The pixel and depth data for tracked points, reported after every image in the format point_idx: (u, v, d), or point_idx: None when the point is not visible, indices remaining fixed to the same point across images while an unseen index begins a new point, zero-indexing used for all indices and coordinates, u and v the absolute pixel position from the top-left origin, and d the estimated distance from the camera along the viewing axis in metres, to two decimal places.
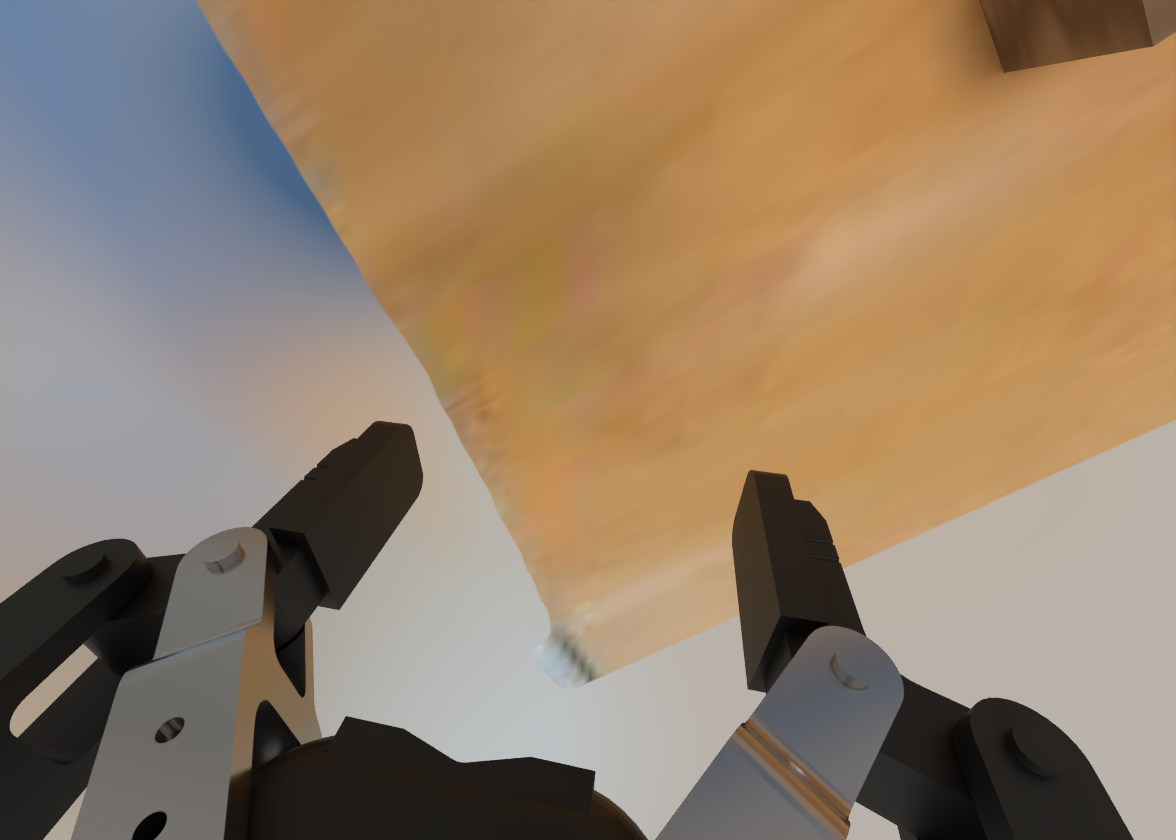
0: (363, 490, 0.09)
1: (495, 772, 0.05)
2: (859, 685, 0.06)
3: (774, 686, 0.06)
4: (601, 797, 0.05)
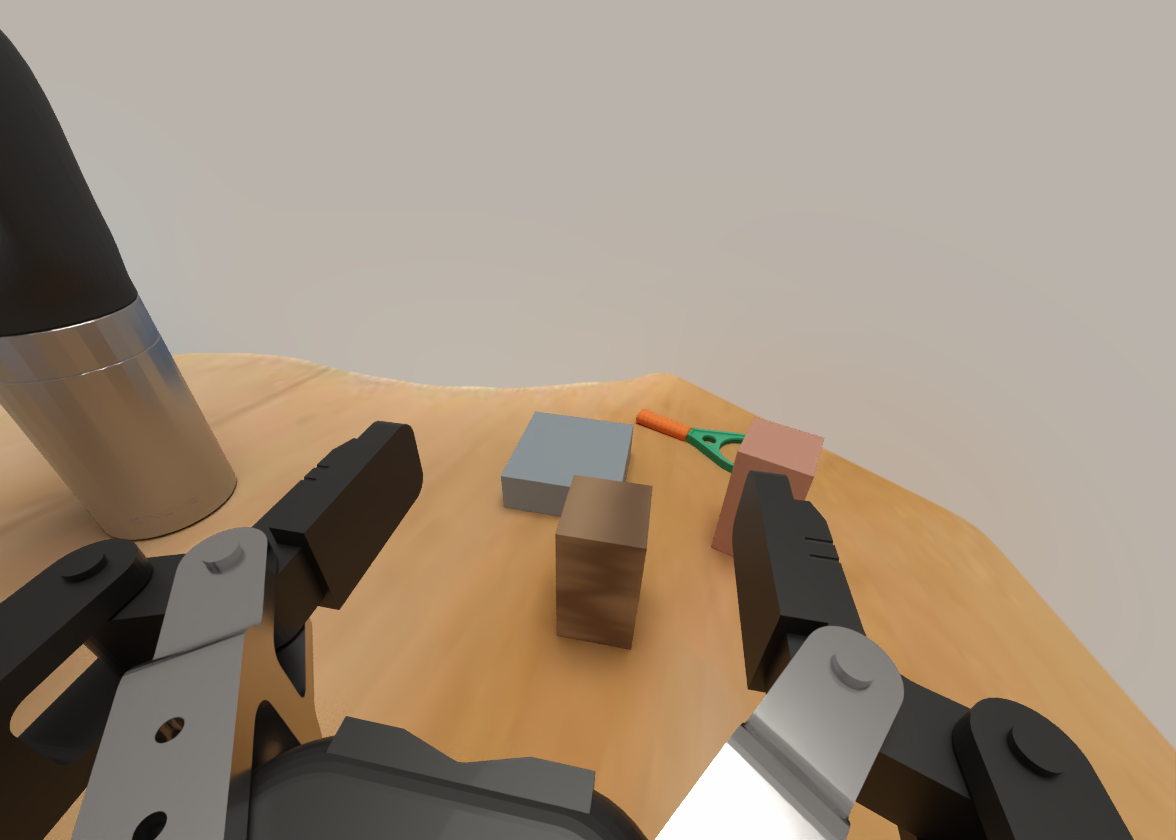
0: (363, 490, 0.09)
1: (495, 774, 0.05)
2: (859, 685, 0.06)
3: (774, 686, 0.06)
4: (601, 797, 0.05)
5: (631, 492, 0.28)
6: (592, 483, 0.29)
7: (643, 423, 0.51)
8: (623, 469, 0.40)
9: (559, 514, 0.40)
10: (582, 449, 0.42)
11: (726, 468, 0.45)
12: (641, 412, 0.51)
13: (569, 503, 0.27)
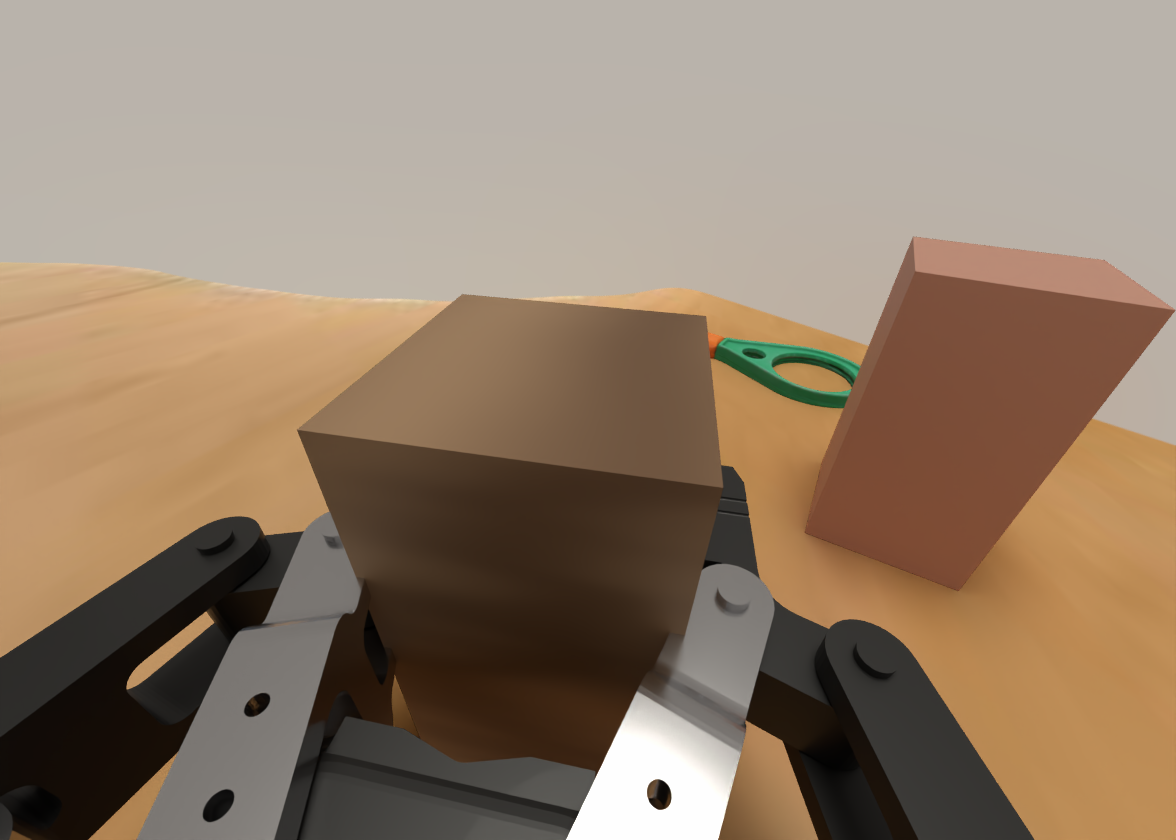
0: None
1: (495, 772, 0.05)
2: (734, 609, 0.07)
3: None
4: None
5: (639, 327, 0.08)
6: (516, 309, 0.09)
7: None
8: None
9: None
10: None
11: (786, 393, 0.26)
12: None
13: (414, 345, 0.07)
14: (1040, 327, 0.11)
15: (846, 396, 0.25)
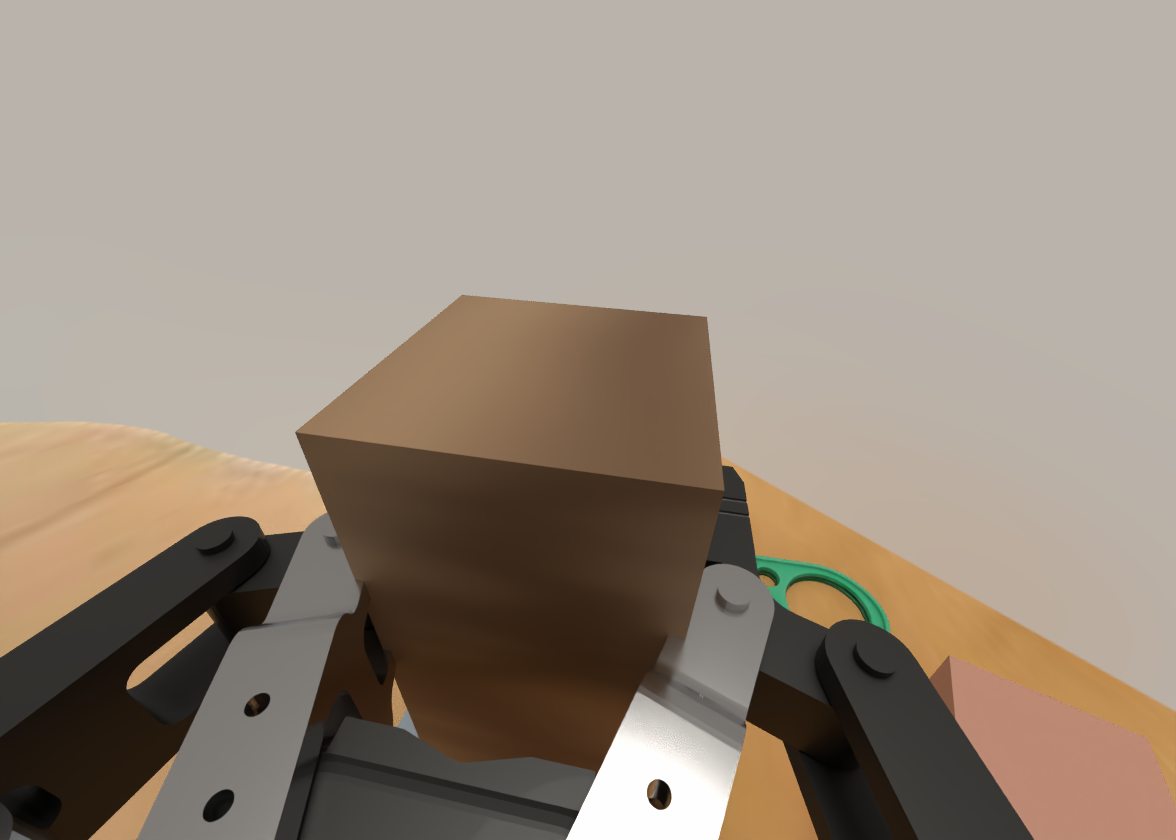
0: None
1: (495, 773, 0.05)
2: (734, 609, 0.07)
3: None
4: None
5: (640, 328, 0.08)
6: (515, 310, 0.09)
7: None
8: None
9: None
10: None
11: None
12: None
13: (414, 347, 0.07)
14: None
15: None
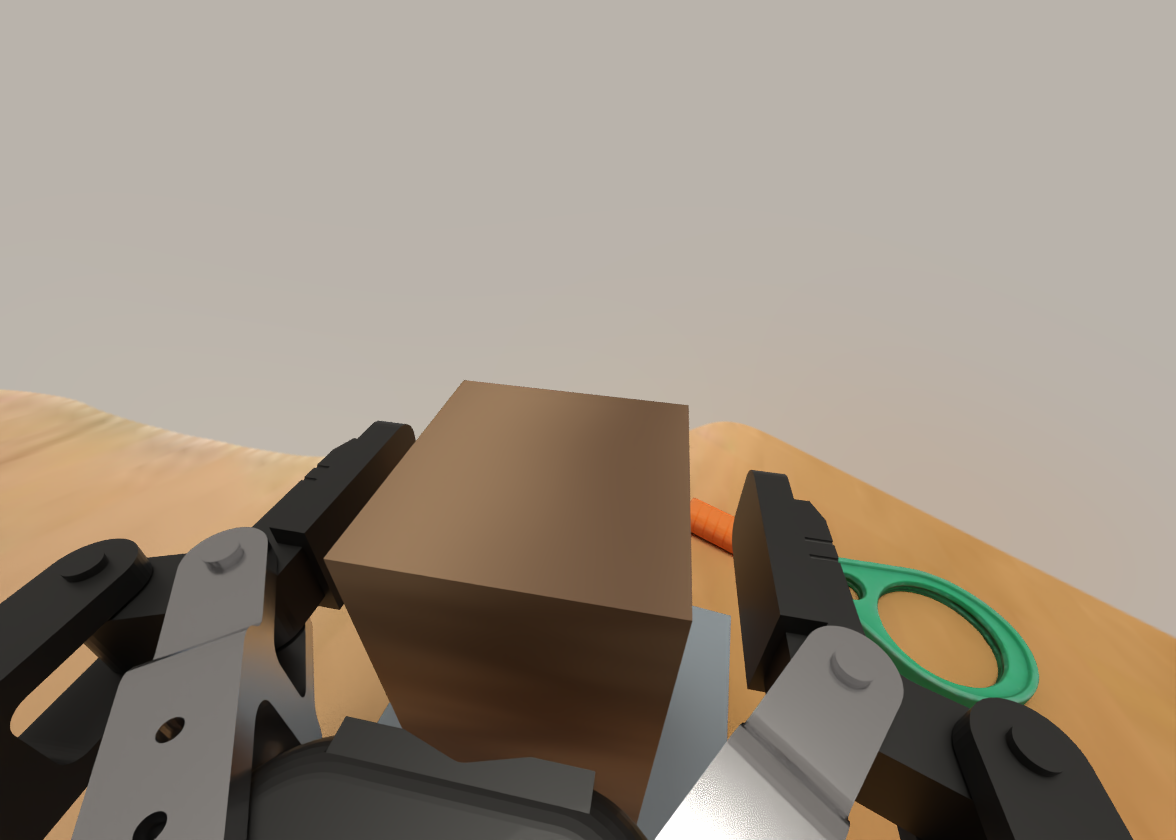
0: (363, 490, 0.09)
1: (495, 772, 0.05)
2: (859, 685, 0.06)
3: (773, 686, 0.06)
4: (601, 797, 0.05)
5: (626, 421, 0.09)
6: (513, 399, 0.10)
7: (695, 531, 0.24)
8: None
9: None
10: None
11: None
12: (691, 507, 0.25)
13: (422, 451, 0.08)
14: None
15: None
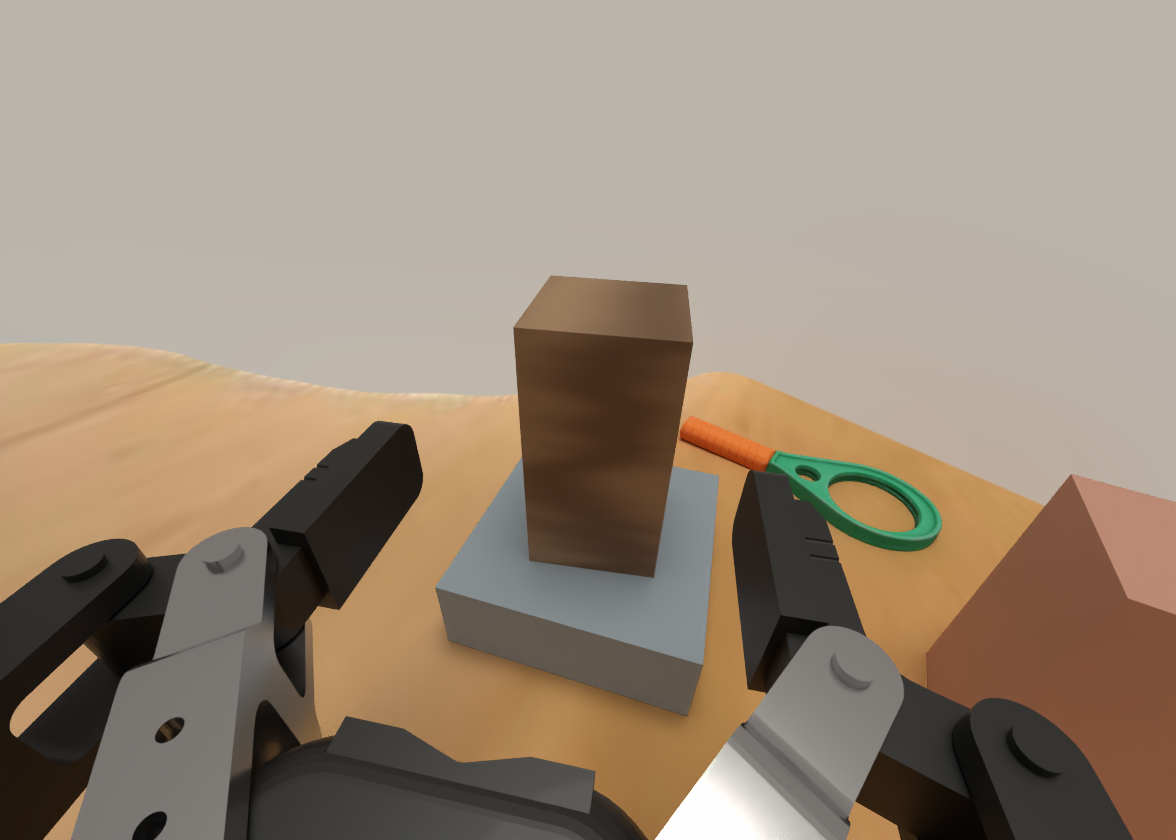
0: (363, 490, 0.09)
1: (495, 773, 0.05)
2: (859, 685, 0.06)
3: (774, 686, 0.06)
4: (601, 797, 0.05)
5: (652, 290, 0.16)
6: (584, 282, 0.16)
7: (691, 440, 0.31)
8: (707, 586, 0.18)
9: (560, 673, 0.18)
10: None
11: (846, 530, 0.25)
12: (689, 421, 0.31)
13: (542, 298, 0.15)
14: None
15: (913, 540, 0.24)
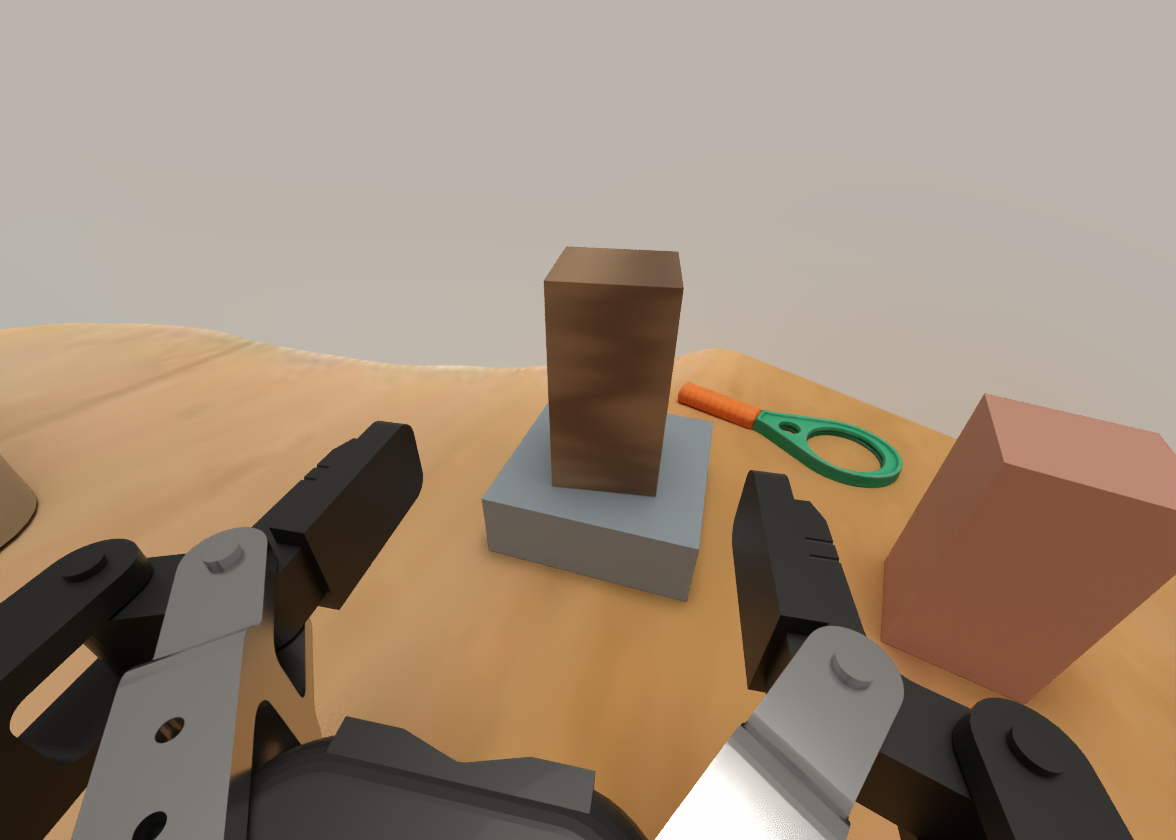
0: (363, 490, 0.09)
1: (495, 773, 0.05)
2: (859, 685, 0.06)
3: (774, 686, 0.06)
4: (601, 797, 0.05)
5: (650, 255, 0.20)
6: (594, 251, 0.20)
7: (688, 402, 0.35)
8: (702, 498, 0.22)
9: (583, 572, 0.22)
10: None
11: (820, 471, 0.29)
12: (686, 386, 0.35)
13: (562, 262, 0.19)
14: (1113, 520, 0.14)
15: (876, 478, 0.28)
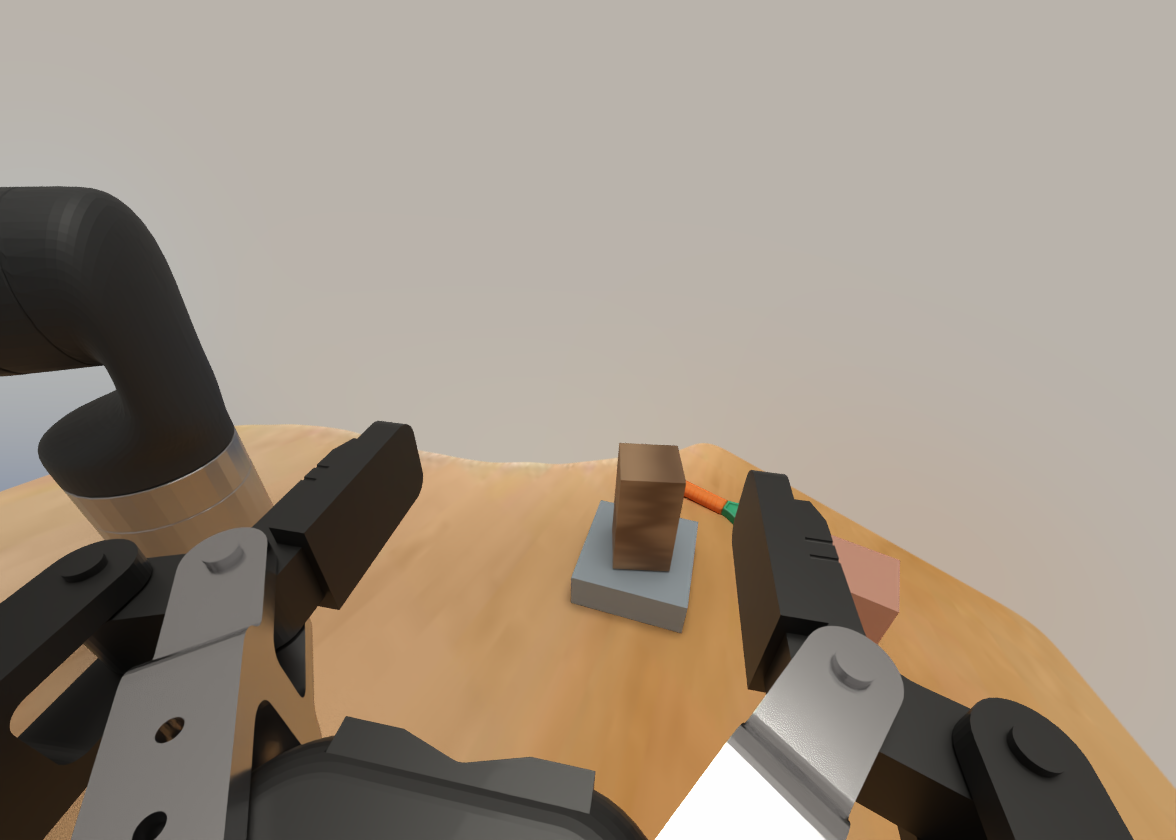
0: (363, 490, 0.09)
1: (495, 772, 0.05)
2: (859, 685, 0.06)
3: (774, 686, 0.06)
4: (601, 797, 0.05)
5: (664, 450, 0.39)
6: (635, 447, 0.39)
7: None
8: (690, 577, 0.40)
9: (624, 616, 0.41)
10: None
11: None
12: None
13: (623, 461, 0.37)
14: (861, 606, 0.32)
15: None
